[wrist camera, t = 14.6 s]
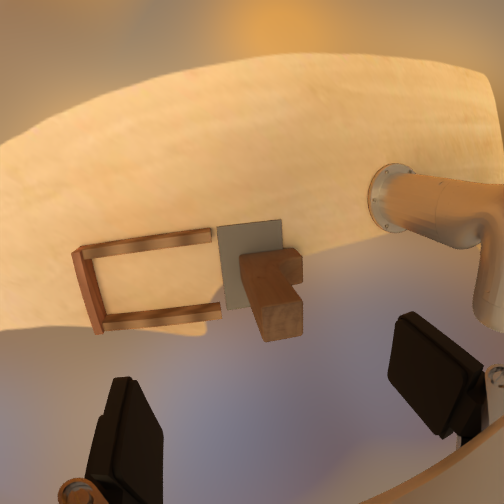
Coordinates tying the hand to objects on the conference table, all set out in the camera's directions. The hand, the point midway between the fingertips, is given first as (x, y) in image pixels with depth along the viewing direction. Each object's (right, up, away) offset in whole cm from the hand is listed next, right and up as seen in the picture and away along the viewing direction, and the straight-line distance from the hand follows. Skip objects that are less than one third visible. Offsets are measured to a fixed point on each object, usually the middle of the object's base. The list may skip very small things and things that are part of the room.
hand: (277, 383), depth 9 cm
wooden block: (+2, +3, +38) cm, 38 cm away
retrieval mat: (-1, +2, +38) cm, 38 cm away
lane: (-16, 0, +36) cm, 39 cm away
